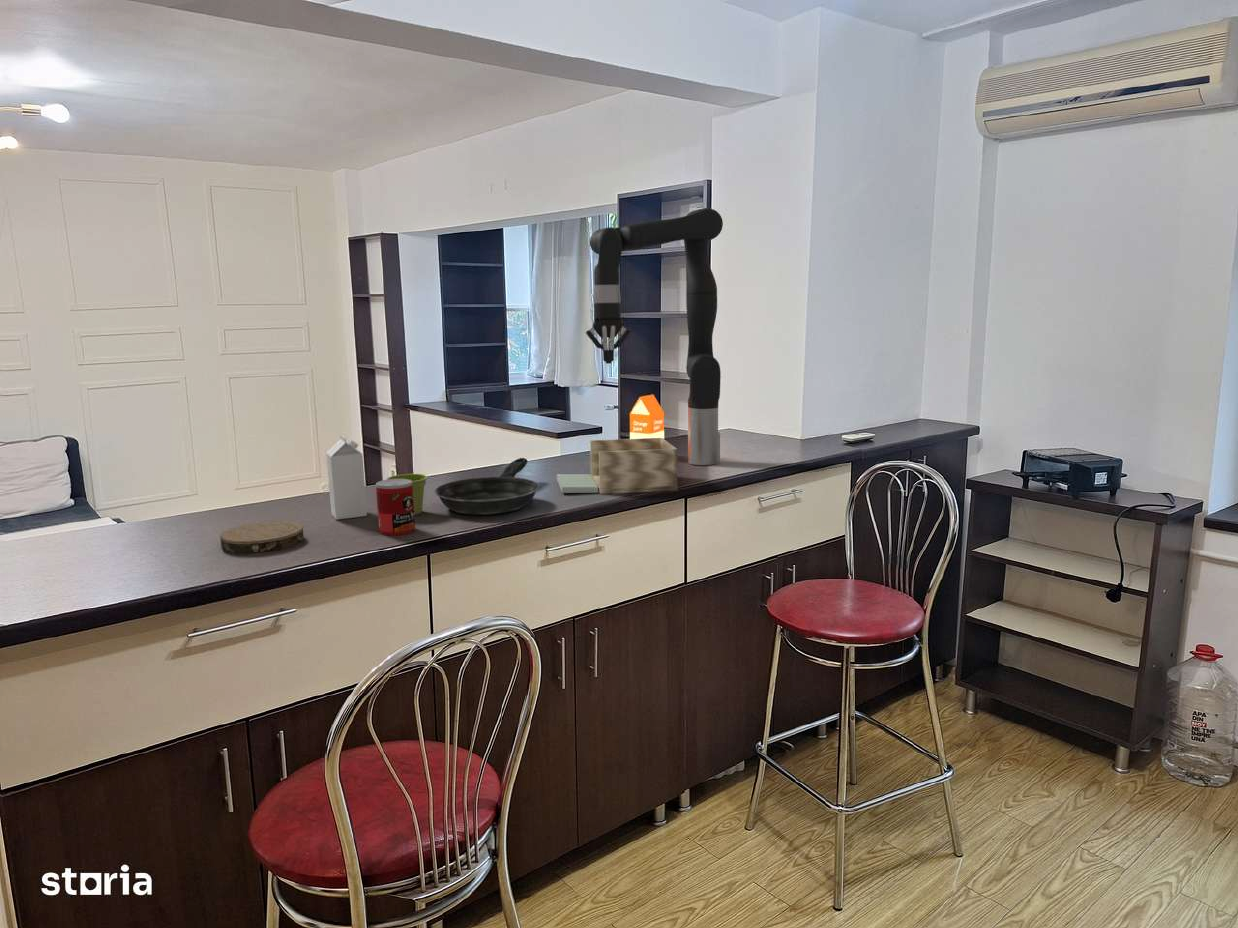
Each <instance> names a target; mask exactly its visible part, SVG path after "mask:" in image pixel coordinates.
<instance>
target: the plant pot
mask: <svg viewBox="0 0 1238 928" xmlns="http://www.w3.org/2000/svg"><path fill="white" fill-rule="evenodd" d="M387 479H408V480H411V481H412V484H413V497H414V514H415V516H416V515H420V514H421V513H422V512H423V505H424V494H425V493H424V492H425V491H424V490H425V485H426V481H427V479H428V476H427V475H426V474H421V473H405V474H404V473H403V474H396V475H392V476H388V477H387V478H386V479H385V480H387Z"/></svg>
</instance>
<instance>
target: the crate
mask: <svg viewBox="0 0 1238 928" xmlns="http://www.w3.org/2000/svg"><path fill="white" fill-rule="evenodd" d="M589 441H590V442H589V445H590V448H589V449H590V474H591V476H592V478H593V479H594V481H595V483H596V484H597V486H598V494H599V495H610V494H609V493H612V494H628V493H629V494H630V493H631V494H632V493H651V492H670V491H672V492H673V491H678V448H676V447H675V446H674V445H672V444H671V443H670V442H668V440H666V439H665V438H664V439H663V438H641V439H630V438H623V439H622V438H620V439H618V438H617V439H596V440H595V439H594V440H589Z"/></svg>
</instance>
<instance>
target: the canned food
mask: <svg viewBox="0 0 1238 928" xmlns="http://www.w3.org/2000/svg"><path fill="white" fill-rule="evenodd" d="M386 479H387V478H386ZM386 479H383V480H379V481H377V482H376V483H375V491H376V492H375V493H376V505H377V516H378V530H379V532H380V533H381V534H382V535H385V536H404V535H408V534H411V533H413V532H414V531H415V530H416V519H415V518H416V515H415V514H414V497H413V484H412V481H411V480H408V479H387V480H386Z"/></svg>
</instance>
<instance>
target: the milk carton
mask: <svg viewBox="0 0 1238 928" xmlns="http://www.w3.org/2000/svg"><path fill="white" fill-rule="evenodd" d="M339 437H340V438H339V440H337V442H336V443H335V444H334V445H332V446H331V447H330V448H329V449H328V450H327V451H326V452H325V453H326V465H327V476H328V477H327V478H328V489H329V501H330V510H331V511H330V513H331V516H332V517H334V519H335V520H345V519H352V518H353V519H354V518H360V517H361V518H362V517H367V516H368V510H367V509H368V508H367V496H366V484H365V483H366V481H365V470H364V459H363V457H364V456H363V453H362V452H360V451H359V450H358V449H357V448H358V447H359V444H358V443H357V442H355V441H354V440H352V439H350V440H349V442H347V438H346V437H345V436H344V435H342V434H339Z"/></svg>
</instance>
